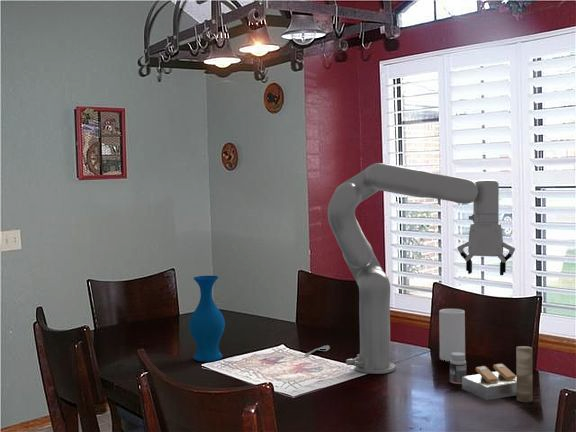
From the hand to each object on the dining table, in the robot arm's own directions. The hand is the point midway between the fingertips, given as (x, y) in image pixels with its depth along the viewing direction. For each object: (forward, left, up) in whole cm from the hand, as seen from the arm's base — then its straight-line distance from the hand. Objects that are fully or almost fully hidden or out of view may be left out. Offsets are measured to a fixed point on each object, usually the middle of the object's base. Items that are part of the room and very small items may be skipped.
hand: (485, 274), depth 207 cm
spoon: (-43, +40, -30) cm, 66 cm away
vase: (-77, +50, -30) cm, 96 cm away
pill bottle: (-17, -9, -30) cm, 35 cm away
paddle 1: (-16, -20, -25) cm, 36 cm away
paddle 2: (-10, -20, -25) cm, 34 cm away
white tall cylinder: (-3, +14, -30) cm, 33 cm away
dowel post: (-11, -30, -30) cm, 43 cm away
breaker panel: (-13, -20, -30) cm, 38 cm away
